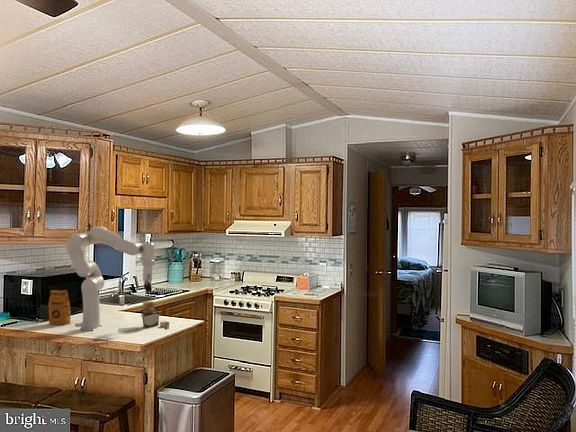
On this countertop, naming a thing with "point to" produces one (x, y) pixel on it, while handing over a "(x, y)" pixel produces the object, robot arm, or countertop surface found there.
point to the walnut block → (148, 307)
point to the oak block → (164, 324)
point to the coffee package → (59, 307)
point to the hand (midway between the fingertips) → (147, 290)
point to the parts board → (128, 329)
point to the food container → (150, 319)
